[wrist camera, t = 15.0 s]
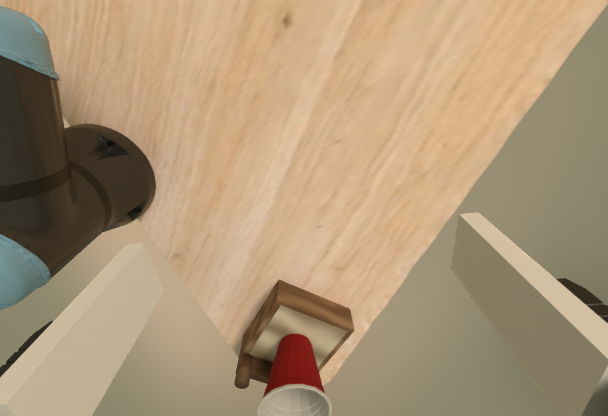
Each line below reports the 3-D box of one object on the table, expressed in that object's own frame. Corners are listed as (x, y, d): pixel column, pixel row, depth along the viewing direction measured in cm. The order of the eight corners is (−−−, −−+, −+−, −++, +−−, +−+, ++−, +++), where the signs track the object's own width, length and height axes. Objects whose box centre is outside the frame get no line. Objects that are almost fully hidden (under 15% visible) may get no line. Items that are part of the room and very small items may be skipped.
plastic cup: (338, 337, 53) (348, 408, 42) (304, 371, 57) (305, 444, 46) (286, 312, 50) (282, 381, 39) (254, 349, 54) (242, 422, 43)
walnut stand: (279, 279, 53) (274, 324, 44) (350, 309, 57) (359, 355, 48) (242, 337, 60) (232, 386, 51) (308, 360, 63) (309, 410, 54)
